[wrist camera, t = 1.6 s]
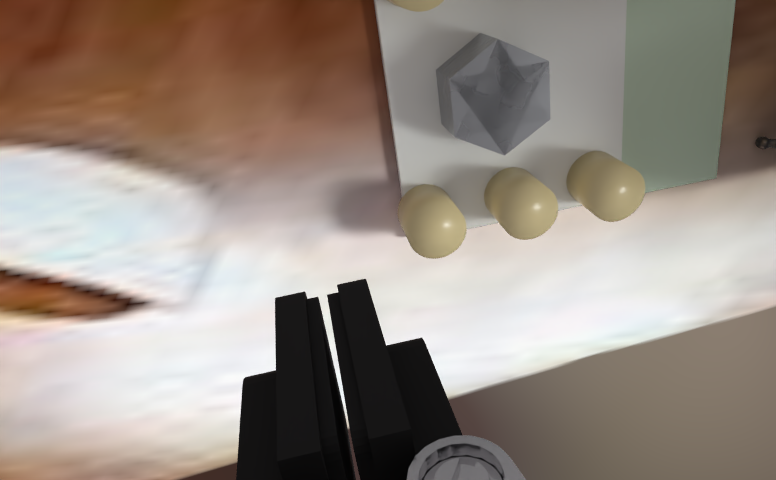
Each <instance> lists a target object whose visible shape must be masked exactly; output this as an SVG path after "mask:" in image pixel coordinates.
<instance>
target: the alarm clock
mask: <svg viewBox="0 0 776 480" xmlns="http://www.w3.org/2000/svg"><path fill="white" fill-rule="evenodd" d="M756 146H757V147H759V148H761V149H766V148H768V147H772V148H776V139H768V138H766V137H759V138H758V139H757V140H756Z"/></svg>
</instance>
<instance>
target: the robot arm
mask: <svg viewBox="0 0 776 480" xmlns="http://www.w3.org/2000/svg"><path fill="white" fill-rule="evenodd" d="M337 287H338V291H339V292H338V293H333V294H329V295H327V297H328V303H329V309H330V314H331V320H332V326H333V332H334V338H335V344H336V350H337V356H338V362H339V368H340V373H341V379H342V385H343V391H344V397H345V403H346V409H347V415H348V421H349V427H350V432H351V437H352V443H353V448H354V452H355V457H356V462H357V466H358V471H359V475H360V479H361V480H526V479H525V478H524V476H523V475H522V474H521V472H520V471H519V469H518V468H517V467H516V465H515V464H514V462H513V461H512V459H511V458H510V457H509V456H508V455H507V454H506V453H505V452H504V451H503V450H502V449H501V448H500V447H499V446H497V445H496V444H494V443H492V442H490V441H488V440H486V439H483V438H478V437H474V436H463V435H462V433H461V430H460V428H459V426H458V423H457V421H456V418H455V416H454V413H453V411H452V408H451V406H450V403H449V401H448V398H447V396H446V393H445V391H444V389H443V386H442V384H441V381H440V379H439V376H438V374H437V371H436V369H435V366H434V364H433V361H432V359H431V356H430V354H429V352H428V349H427V347H426V344H425V342H424V340H423V339H422V338H418V339H414V340H409V341H405V342H400V343H396V344H391V345H387V346H386V344H385V341H384V337H383V334H382V331H381V327H380V324H379V321H378V317H377V314H376V311H375V307H374V304H373V301H372V298H371V294H370V291H369V288H368V284H367V281H366V279H362V280H357V281H353V282H348V283H343V284H339V285H337ZM275 328H276V371H271V372H267V373H262V374H258V375H253V376H249V377H245V378H244V380H243V388H242V403H241V417H240V432H239V447H238V462H237V477H236V480H356V478H355V472H354V466H353V460H352V454H351V447H350V442H349V436H348V429H347V424H346V418H345V413H344V409H343V404H342V400H341V395H340V391H339V387H338V382H337V378H336V373H335V369H334V365H333V360H332V356H331V351H330V347H329V342H328V338H327V334H326V329H325V325H324V320H323V316H322V311H321V307H320V303H319V299H318V297H315V298H310V299H307V296H306V293H305V292H301V293H296V294H292V295H287V296H282V297H277V298H275Z"/></svg>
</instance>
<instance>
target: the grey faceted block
mask: <svg viewBox="0 0 776 480" xmlns="http://www.w3.org/2000/svg"><path fill="white" fill-rule="evenodd" d="M436 77H437V87H438V96H439V106H440V116H441V124H442V125H443V126H444V127H445V128H446V129H447V130H448V131H449V132H450V133H451V134H452V135H453V136H454V137H455V138H458V139H461V140H463V141H466V142H469V143H472V144H474V145H477V146H480V147H483V148H485V149H488V150H491V151H493V152H496V153H499V154H502V155H504V156H505V155H506V154H507V153H509V152H510V151H511V150H512V149H514V148H515V147H516V146H517V145H519V144H520V143H521V142H522V141H524V140H525V139H526V138H528V137H529V136H530V135H531V134H533V133H534V132H535V131H536V130H538V129H539V128H540V127H541V126H543V125H544V124H545V123H546V122H548V121H549V120H550V72H549V61H548V60H546V59H543V58H541V57H539V56H536V55H534V54H532V53H529V52H527V51H525V50H523V49H520V48H518V47H516V46H513V45H511V44H509V43H506V42H504V41H502V40H499V39H497V38H494V37H491V36H488V35H485V34H482V33H479V34H478V35H477V36H476V37H475V38H473V39H472V40H471V41H470V42H469V43H467V44H466V45H465V46H464V47H463V48H461V49H460V50H459V51H458V52H457V53H455V54H454V55H453V56H452V57H451V58H449V59H448V60H447V61H446V62H445V63H443V64H442V65H441V66H440V67H439V68H437V69H436Z"/></svg>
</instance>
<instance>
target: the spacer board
mask: <svg viewBox="0 0 776 480" xmlns="http://www.w3.org/2000/svg"><path fill="white" fill-rule="evenodd" d="M735 2H736V0H374V5H375V12H376V19H377V26H378V33H379V40H380V48H381V55H382V62H383V69H384V76H385V83H386V90H387V97H388V104H389V111H390V118H391V125H392V132H393V139H394V146H395V153H396V161H397V168H398V175H399V182H400V189H401V196H402V199H401V201H400V203H399V206H398V219H399V222H400V224H401V226H402V228H403V231H404V233H405V235H406V237H407V239H408V241H409V243H410V245H411V247H412V248H413V250H414V251H415V252H416V253H418V254H419V255H421V256H423V257H426V258H442V257H445V256H448V255H449V254H451V253H453V252H454V251H455V250H457V249H458V247H459V246H460V245H461V244H462V242H463V240H464V238H465V235H466V229H471V228H476V227H481V226H485V225H490V224H495V223H500V225H501V226H502V227H503V228H504V229H505V230H506V231H507V233H508V234H510V235H511V236H513V237H515V238H517V239H523V240H528V239H533V238H536V237H538V236H540V235H542V234H543V233H545V232H546V231H547V230H548V229H549V228H550V227H551V226H552V224H553V223H554V221H555V219H556V217H557V213H558V211H559V210H564V209H569V208H573V207H578V206H584V207H585V208H587V209H588V210H589V211H590V212H592V213H593V214H594V215H596V216H597V217H598V218H600V219H601V220H604V221H609V222H614V221H619V220H622V219H625V218H626V217H628V216H630V215H631V214H632V213H633V212H634V211H635V210H636V209H637V208H638V207H639V205H640V204H641V202H642V200H643V198H644V194H645V193H647V192H652V191H657V190H661V189H666V188H671V187H676V186H681V185H686V184H691V183H696V182H701V181H705V180H710V179H715V178H717V169H718V159H719V150H720V141H721V132H722V122H723V113H724V104H725V94H726V85H727V76H728V67H729V57H730V48H731V39H732V30H733V20H734V11H735ZM479 33H482V34H485V35H488V36H491V37H494V38H497V39H499V40H502V41H504V42H506V43H509V44H511V45H513V46H516V47H518V48H520V49H523V50H525V51H527V52H529V53H532V54H534V55H536V56H539V57H541V58H543V59H546V60H548V61H549V72H550V120H549V121H548V122H546V123H545V124H544V125H543V126H541V127H540V128H539V129H538V130H536V131H535V132H534V133H533V134H531V135H530V136H529V137H528V138H526V139H525V140H524V141H522V142H521V143H520V144H519V145H517V146H516V147H515V148H514V149H512V150H511V151H510V152H509V153H507V154H506V155H505V156H504V155H502V154H499V153H496V152H493V151H491V150H488V149H485V148H483V147H480V146H477V145H474V144H472V143H469V142H466V141H463V140H461V139H458V138H455V137H454V136H453V135H452V134H451V133H450V132H449V131H448V130H447V129H446V128H445V127H444V126H443V125H442V124H441V116H440V106H439V96H438V87H437V77H436V69H437V68H439V67H440V66H441V65H442V64H443V63H445V62H446V61H447V60H448V59H449V58H451V57H452V56H453V55H454V54H455V53H457V52H458V51H459V50H460V49H461V48H463V47H464V46H465V45H466V44H467V43H469V42H470V41H471V40H472V39H473V38H475V37H476V36H477V35H478V34H479Z"/></svg>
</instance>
